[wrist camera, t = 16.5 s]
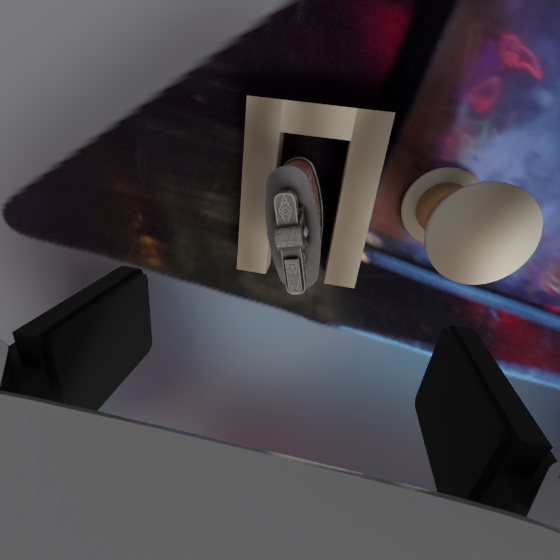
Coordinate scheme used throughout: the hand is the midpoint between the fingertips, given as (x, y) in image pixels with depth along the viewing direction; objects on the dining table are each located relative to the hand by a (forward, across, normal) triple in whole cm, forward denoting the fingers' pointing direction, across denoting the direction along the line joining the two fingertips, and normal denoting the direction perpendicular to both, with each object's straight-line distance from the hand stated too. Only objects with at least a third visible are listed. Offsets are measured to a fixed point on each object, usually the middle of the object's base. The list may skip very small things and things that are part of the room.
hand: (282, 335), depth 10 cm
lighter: (+19, +1, 0) cm, 19 cm away
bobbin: (+19, -9, -2) cm, 21 cm away
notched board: (+19, +1, -1) cm, 19 cm away
